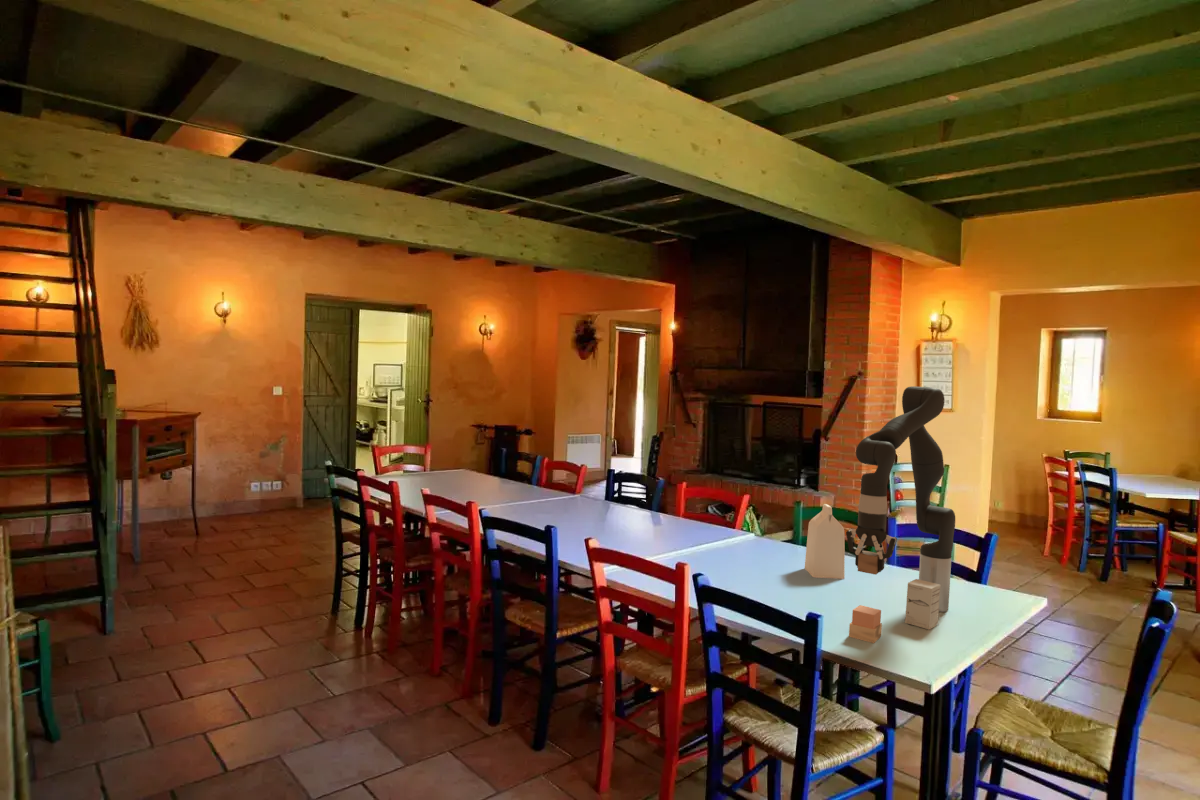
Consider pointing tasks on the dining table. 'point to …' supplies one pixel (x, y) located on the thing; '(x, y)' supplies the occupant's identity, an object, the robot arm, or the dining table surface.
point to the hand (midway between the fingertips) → (869, 569)
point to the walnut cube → (868, 562)
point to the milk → (825, 546)
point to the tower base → (865, 632)
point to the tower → (866, 617)
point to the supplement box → (922, 603)
